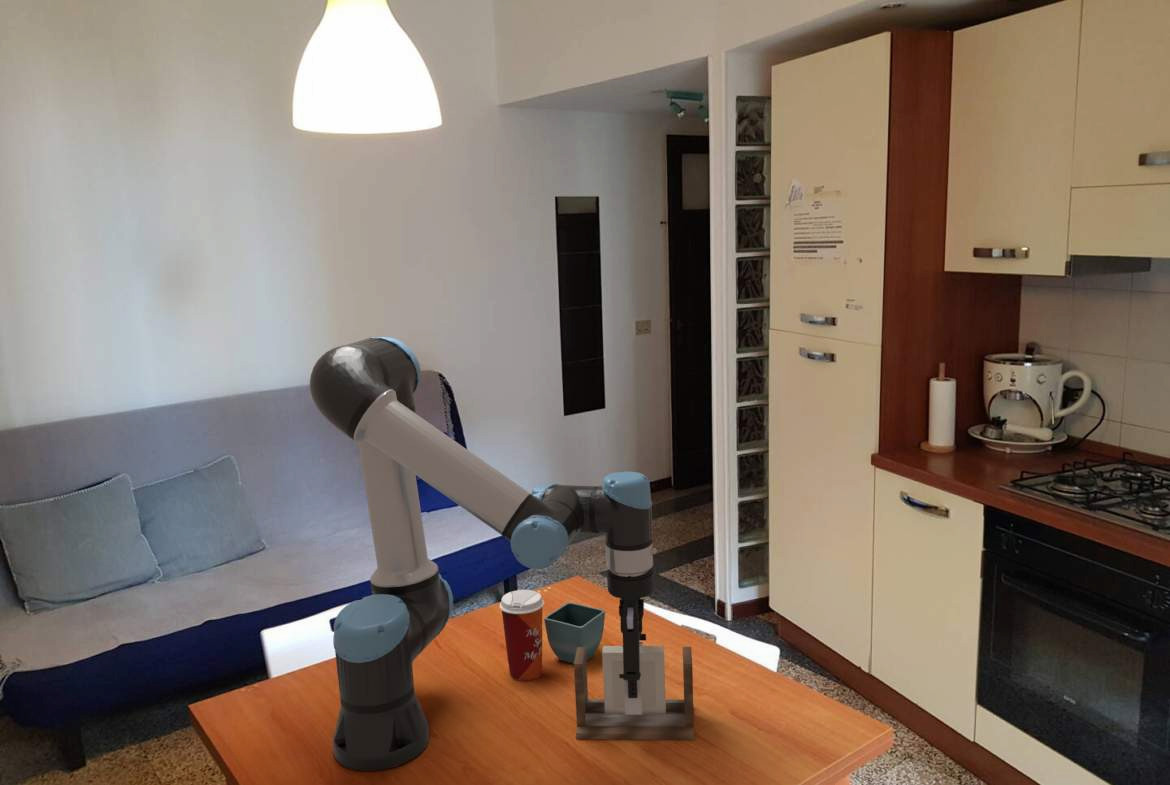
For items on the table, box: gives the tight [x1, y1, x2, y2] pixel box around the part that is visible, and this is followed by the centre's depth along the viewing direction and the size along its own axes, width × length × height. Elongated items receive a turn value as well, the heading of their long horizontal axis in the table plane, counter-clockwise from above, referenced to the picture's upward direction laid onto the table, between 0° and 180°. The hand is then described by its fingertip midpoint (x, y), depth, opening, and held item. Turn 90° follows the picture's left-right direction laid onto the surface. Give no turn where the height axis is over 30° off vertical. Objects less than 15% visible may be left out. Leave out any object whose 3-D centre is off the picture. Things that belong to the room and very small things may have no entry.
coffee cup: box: [499, 589, 545, 682], centre depth 165 cm, size 8×8×15 cm
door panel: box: [601, 645, 667, 714], centre depth 147 cm, size 10×2×12 cm, turn 85°
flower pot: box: [543, 601, 606, 664], centre depth 171 cm, size 9×9×9 cm
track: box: [573, 646, 695, 741], centre depth 147 cm, size 19×10×12 cm, turn 85°
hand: (634, 695), depth 147 cm, fingers open, 10 cm apart
